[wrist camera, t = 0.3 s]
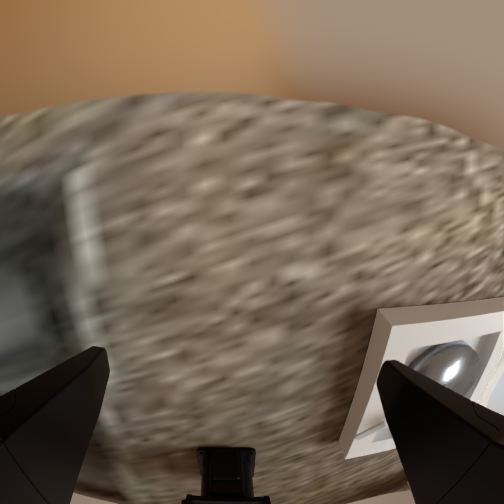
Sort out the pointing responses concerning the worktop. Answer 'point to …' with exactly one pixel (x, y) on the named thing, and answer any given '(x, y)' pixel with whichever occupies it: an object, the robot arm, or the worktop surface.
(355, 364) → the worktop surface
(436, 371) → the dial
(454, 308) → the bezel
